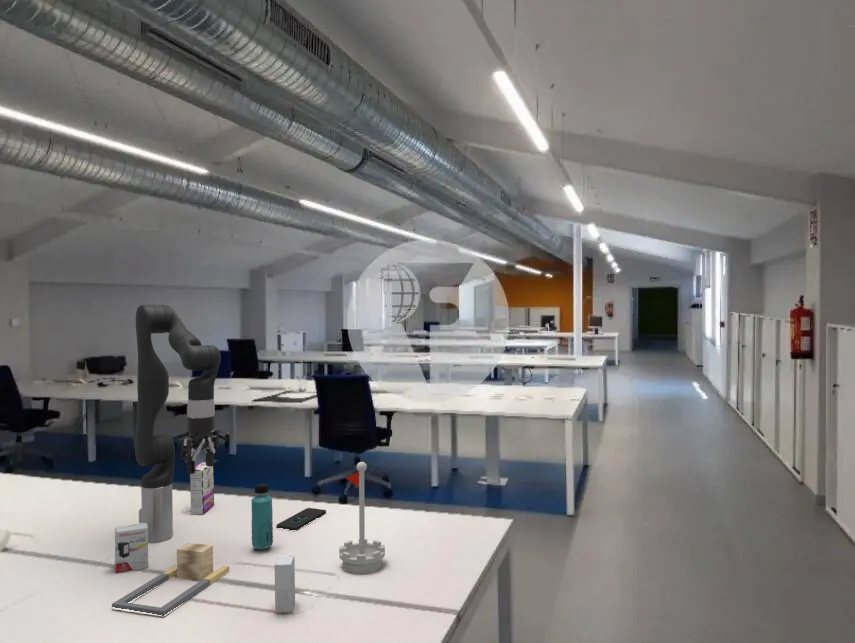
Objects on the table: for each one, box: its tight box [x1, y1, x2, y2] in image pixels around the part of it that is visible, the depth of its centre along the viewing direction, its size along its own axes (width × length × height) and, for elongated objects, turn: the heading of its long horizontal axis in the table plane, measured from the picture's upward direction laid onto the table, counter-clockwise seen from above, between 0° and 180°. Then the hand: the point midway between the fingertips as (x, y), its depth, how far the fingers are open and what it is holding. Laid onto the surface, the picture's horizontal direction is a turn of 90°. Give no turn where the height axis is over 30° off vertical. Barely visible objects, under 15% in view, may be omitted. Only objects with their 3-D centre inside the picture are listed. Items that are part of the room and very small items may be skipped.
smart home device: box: [276, 507, 327, 531], centre depth 221 cm, size 8×2×20 cm
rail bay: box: [111, 564, 230, 616], centre depth 167 cm, size 15×28×2 cm, turn 164°
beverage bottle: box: [250, 483, 274, 549], centre depth 194 cm, size 6×7×20 cm
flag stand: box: [338, 461, 386, 574], centre depth 182 cm, size 13×13×30 cm
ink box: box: [114, 522, 149, 574], centre depth 181 cm, size 9×5×12 cm, turn 118°
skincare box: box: [274, 554, 296, 614], centre depth 157 cm, size 6×4×12 cm
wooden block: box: [176, 542, 214, 582], centre depth 175 cm, size 8×5×8 cm, turn 74°
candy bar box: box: [189, 461, 215, 516], centre depth 232 cm, size 11×5×16 cm, turn 179°
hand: (200, 469), depth 184 cm, fingers open, 8 cm apart
